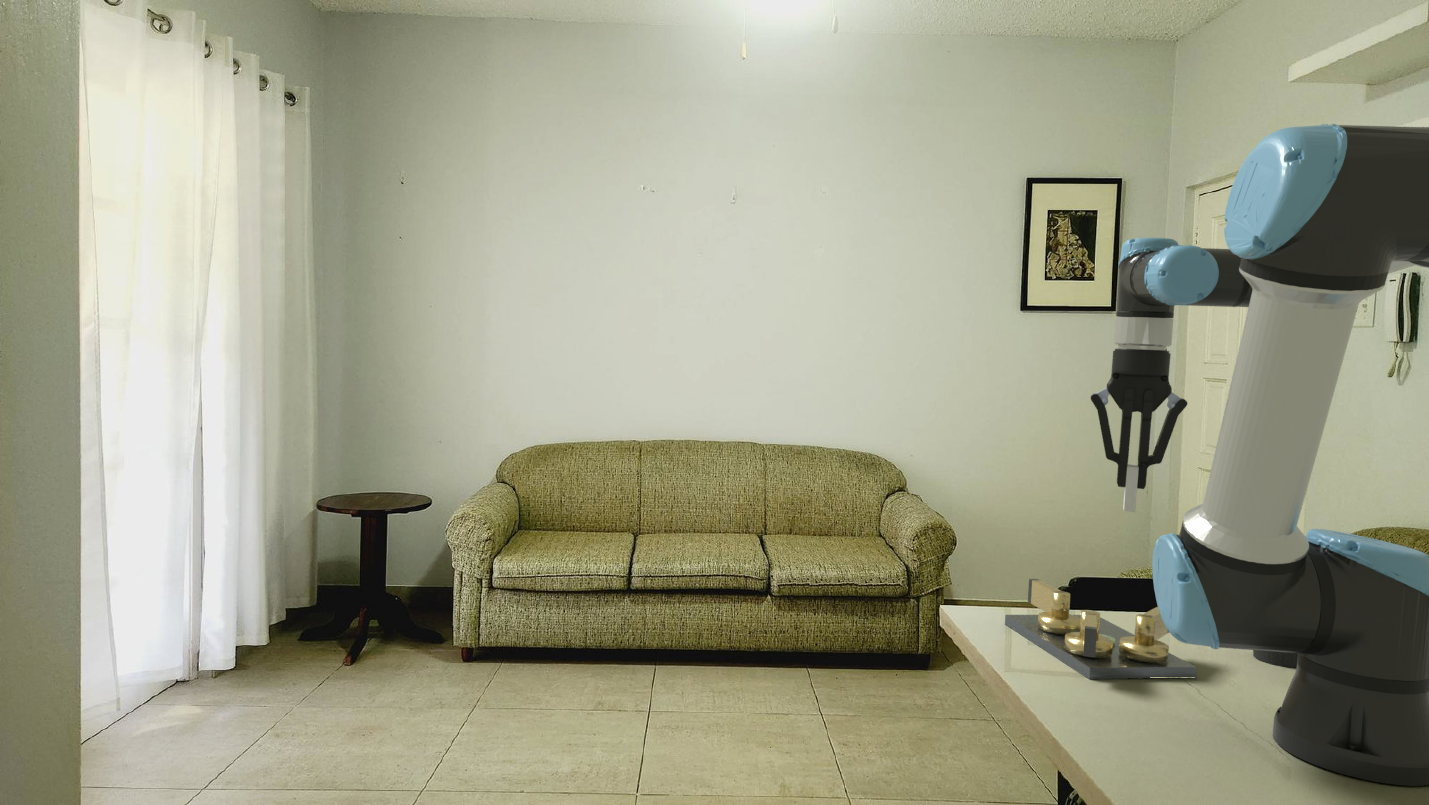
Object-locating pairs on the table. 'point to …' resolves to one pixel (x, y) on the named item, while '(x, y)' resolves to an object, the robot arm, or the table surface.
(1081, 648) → the brass knob
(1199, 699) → the table surface
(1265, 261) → the robot arm
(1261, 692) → the table surface
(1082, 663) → the levelling plate
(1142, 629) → the brass knob
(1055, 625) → the brass knob
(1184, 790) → the table surface
